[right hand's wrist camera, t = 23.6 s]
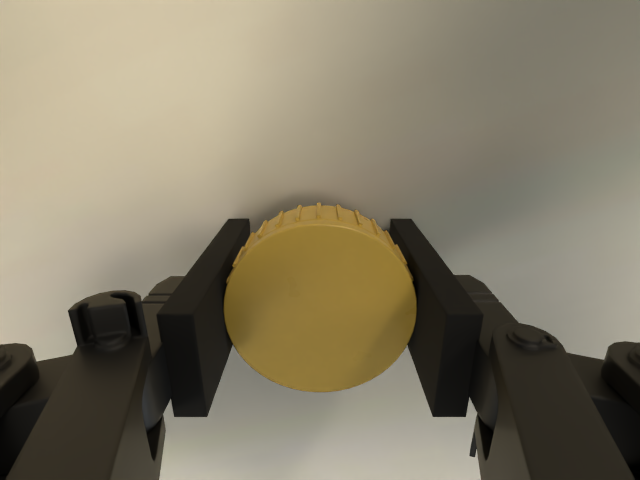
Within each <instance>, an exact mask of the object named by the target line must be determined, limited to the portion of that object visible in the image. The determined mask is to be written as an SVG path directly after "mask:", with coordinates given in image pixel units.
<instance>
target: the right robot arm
mask: <svg viewBox="0 0 640 480" xmlns="http://www.w3.org/2000/svg"><path fill="white" fill-rule="evenodd" d="M249 236H250V223H249V219H228V221H227V222H226V223H225V225H224V226H223V227H222V228H221V230H220V231H219V232H218V234H217V235H216V236H215V238H214V239H213V240H212V242H211V243H210V244H209V246H208V247H207V248H206V250H205V251H204V252H203V253H202V255H201V256H200V257H199V259H198V260H197V261H196V263H195V264H194V265H193V267H192V268H191V269H190V271H189V272H188V273H187V275H186V276H171V277H169V278H167V279H165V280H164V281H162V282H160V283H158V284H157V285H156V286H155V287H154V288H153V289H152V290H151V291H150V293H149V295H148V296H146V297H145V298H144V299H143V301H141V296H140V295H138V294H137V293H135V292H131V291H126V290H121V291H109V292H104V293H99V294H96V295H93V296H90V297H87V298H85V299H83V300H81V301H79V302H78V303H76V304H74V305H73V306H72V307H71V308H70V309H69V310H68V313H69V317H70V320H71V324H72V328H73V331H74V335H75V339H76V342H77V348H76V350H75V352H74V353H73V355H69V356H64V357H58V358H53V359H48V360H43V361H37V362H36V359H35V356H34V353H33V350H32V348H30V347H29V346H28V345H26V344H18V343H13V344H5V345H3V344H2V345H0V480H159V476H160V468H161V461H162V454H163V446H164V439H165V432H166V430H165V422H164V417H163V413H164V411H165V409H166V407H167V405H168V403H169V401H170V399H171V401H172V407H173V413H174V417H207V416H208V413H209V410H210V407H211V404H212V401H213V399H214V396H215V393H216V390H217V387H218V385H219V382H220V379H221V376H222V373H223V370H224V368H225V365H226V362H227V359H228V356H229V354H230V351H231V348H232V345H233V343H232V342H231V339H230V337H229V334H228V332H227V329H226V325H225V321H224V311H223V305H224V295H225V290H226V286H227V283H226V281H227V278H228V277H229V275H230V273H231V271H232V269H233V266H232V265H233V263H234V261H235V259H236V257H237V255H238V254H239V252H240V250H241V248H242V246H243V247H244V246H245V244H246V242H247V240H248V238H249ZM390 237H391V239H392V241H393V243H394V245H396V244H397V245H398V247H399V249H400V251H401V253H402V255H403V256H404V258H405V260H406V262H407V264H406V265H407V267H408V269H409V271H410V273H411V275H412V276H413V279H414V281H412V282H413V285H414V288H415V293H416V298H417V314H416V323H415V327H414V330H413V333H412V336H411V338H410V340H409V343H408V344H407V345H408V348H409V351H410V354H411V356H412V359H413V362H414V365H415V368H416V371H417V373H418V376H419V379H420V382H421V385H422V387H423V390H424V393H425V396H426V399H427V402H428V404H429V407H430V410H431V413H432V416H433V417H466V413H467V407H468V401H469V397H470V399H471V401H472V403H473V405H474V407H475V409H476V411H477V417H476V422H475V428H474V433H473V438H472V444H471V449H470V456H472V457H475V454H476V449H477V453H478V460H479V468H480V475H481V480H640V343H634V342H626V341H624V342H616V343H613V344H612V345H610V346H609V347H608V350H607V353H606V356H605V359H604V360H602V359H596V358H591V357H586V356H580V355H575V354H570V353H566V351H565V349H564V347H563V345H562V344H561V343H560V342H559V341H558V340H557V339H556V338H555V337H554V336H552V335H551V334H549V333H548V332H546V331H544V330H541V329H539V328H536V327H534V326H530V325H526V324H521V323H518V321H517V320H516V319H515V318H514V317H513V316H512V315H511V314H510V312H509V311H508V310H507V309H506V308H505V307H504V306H503V305H502V303H501V302H499V300H498V299H497V298H496V297H495V296H494V294H492V292H491V291H490V290H489V289H488V288H487V287H486V285H485V284H484V283H482V282H481V281H479V280H477V279H475V278H474V277H472V276H470V275H453V273H452V272H451V271H450V269H449V268H448V267H447V265H446V264H445V263H444V261H443V260H442V259H441V258H440V256H439V255H438V254H437V252H436V251H435V250H434V248H433V247H432V246H431V244H430V243H429V242H428V240H427V239H426V238H425V236H424V235H423V234H422V233H421V231H420V230H419V229H418V227H417V226H416V225H415V223H414V222H413V221H412V219H391V222H390Z"/></svg>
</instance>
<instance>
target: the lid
mask: <svg viewBox="0 0 640 480" xmlns="http://www.w3.org/2000/svg"><path fill="white" fill-rule="evenodd" d="M406 264H407V262H406V260H405V258H404V256H403V255H402V253H401V251H400V249H399V247H398V245H397V244H396V245H394V243H393V241H392V239H391V237H390V235H389V233H388V231H387V230H386V231H383V230H382V229H381V228H380V227H379V226H377V224H376V222H375V220H374V219H371V220H369V219H367V218H366V217H364V216H362V215H360V214H359V211H358V210H355V211H354V212H353V211H351V210H347V209H344V208H341V207H340V205H338V204H337V205H336V207H334V206H321V203H317V206H307V207H302V206H301V205H298V206H297V209H293V210H290V211H287V212H285V213H284V212H283V211H280V212H279V215H278V216H277V217H275V218H273V219H271V220H270V221H267V220H265V221H264V222H263V224H262V226H261V228H260V229H259V230H258V231H257V232H256V233H253V232H252V233H251V234H250V236H249V238H248V240H247V242H246V244H245V246H244V247H243V246H242V248H241V250H240V252H239V254H238V255H237V257H236V259H235V261H234V263H233V265H232V266H233V269H232V271H231V273H230V275H229V277H228V278H227V281H226V283H227V286H226V290H225V295H224V305H223V311H224V321H225V325H226V329H227V332H228V334H229V337H230V339H231V342H232V343H233V345H234V347H235V348H236V350H237V352H238V353H239V354H240V356H241V357H242V358H243V359H244V360H245V361H246V362H247V363H248V364H249V365H250V366H251V367H252V368H253V369H254V370H256V371H257V372H258V373H259V374H261V375H262V376H264V377H266V378H267V379H269V380H271V381H273V382H275V383H278V384H280V385H282V386H285V387H289V388H292V389H296V390H301V391H308V392H332V391H340V390H344V389H349V388H352V387H355V386H358V385H361V384H363V383H365V382H367V381H370V380H371V379H373V378H375V377H376V376H378V375H380V374H381V373H382V372H384V371H385V370H386V369H388V368H389V367H390V366H391V365H392V364H393V363H394V362H395V361H396V360H397V359H398V357H399V356H400V355H401V354H402V352H403V351H404V349H405V348H406V346H407V344H408V343H409V340H410V338H411V336H412V333H413V330H414V327H415V323H416V314H417V298H416V293H415V288H414V285H413V282H412V281H414V279H413V276H412V275H411V273H410V271H409V269H408V267H407V265H406Z"/></svg>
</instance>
